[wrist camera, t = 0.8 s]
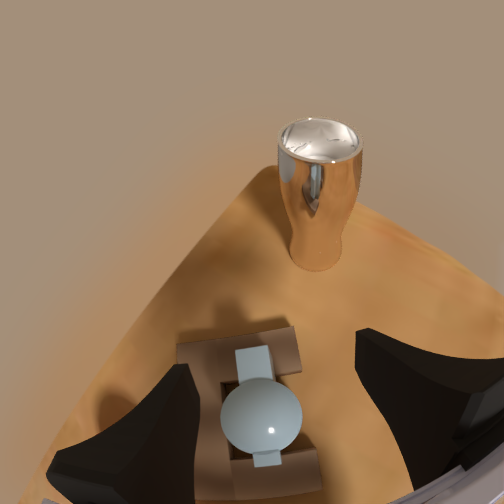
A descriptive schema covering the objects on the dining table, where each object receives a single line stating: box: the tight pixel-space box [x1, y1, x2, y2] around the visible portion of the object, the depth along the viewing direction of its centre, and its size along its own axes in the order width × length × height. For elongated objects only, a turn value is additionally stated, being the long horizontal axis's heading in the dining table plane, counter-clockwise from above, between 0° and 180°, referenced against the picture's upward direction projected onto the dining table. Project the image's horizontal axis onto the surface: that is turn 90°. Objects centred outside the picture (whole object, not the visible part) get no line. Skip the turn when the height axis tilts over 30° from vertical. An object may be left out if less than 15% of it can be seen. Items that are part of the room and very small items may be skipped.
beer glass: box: [277, 116, 363, 272], centre depth 25 cm, size 7×7×15 cm
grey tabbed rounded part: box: [220, 345, 302, 467], centre depth 20 cm, size 9×6×7 cm, turn 8°
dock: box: [177, 326, 323, 500], centre depth 21 cm, size 16×11×2 cm
